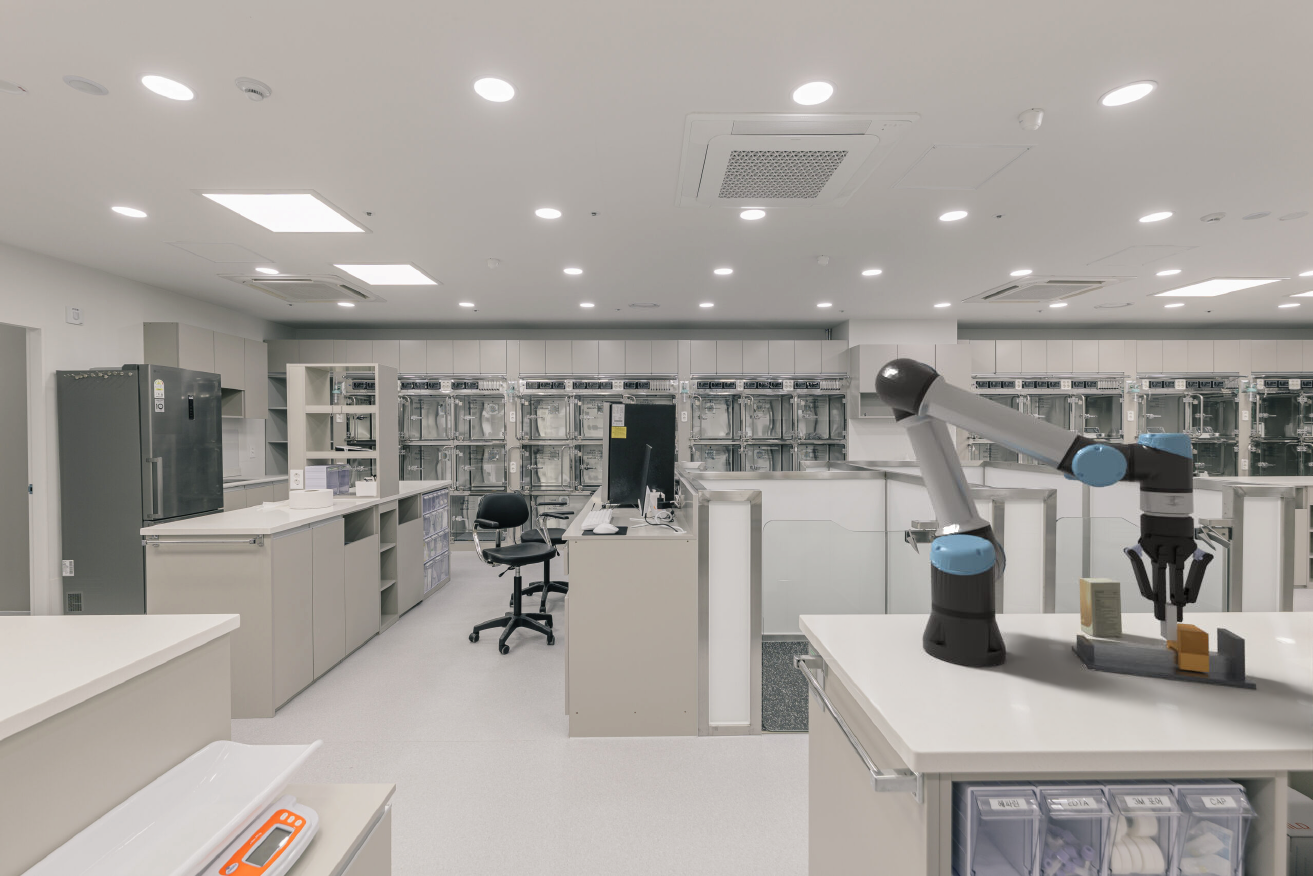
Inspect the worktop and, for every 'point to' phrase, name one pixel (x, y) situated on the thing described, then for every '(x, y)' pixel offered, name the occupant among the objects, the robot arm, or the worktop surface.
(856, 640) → the worktop surface
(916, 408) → the robot arm
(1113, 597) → the skincare box
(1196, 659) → the orange slider block
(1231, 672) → the rail
